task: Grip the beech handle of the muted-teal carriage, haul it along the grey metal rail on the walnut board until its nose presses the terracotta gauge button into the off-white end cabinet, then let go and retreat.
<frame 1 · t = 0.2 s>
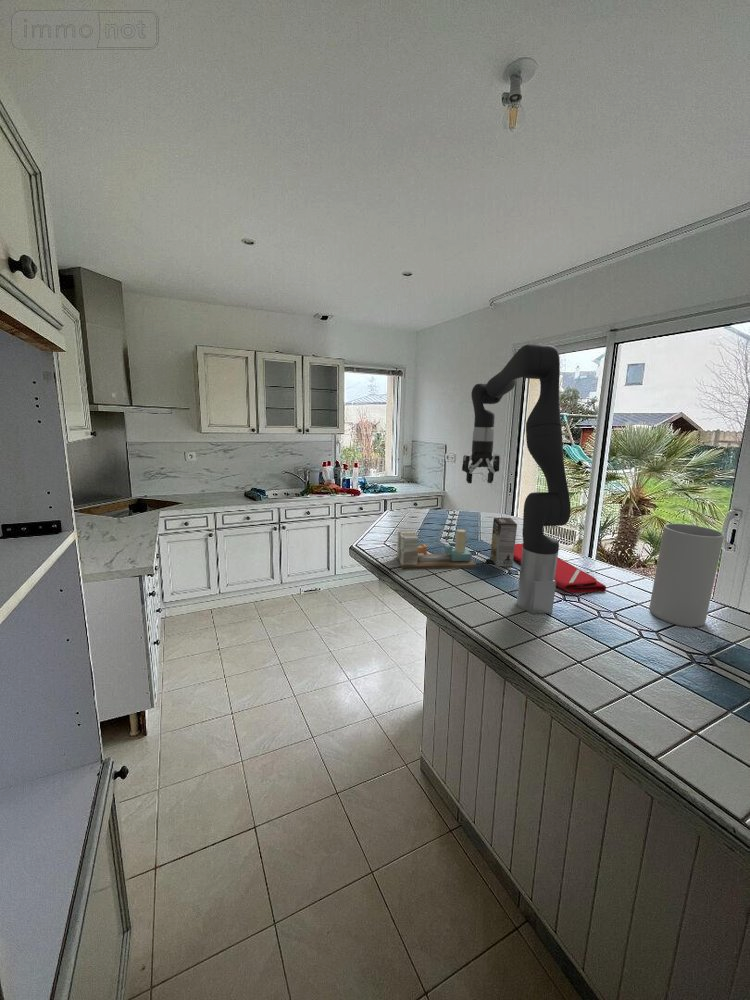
hand: (479, 483, 151), 28 cm above the countertop, fingers open, 8 cm apart
coffee box: (501, 562, 150), on the countertop
cylinder vase: (675, 617, 111), on the countertop
folded red towel: (546, 570, 145), on the countertop
carriage: (457, 544, 147), point 7 cm above the countertop, slide at 0.0 cm
gauge button: (417, 549, 146), point 5 cm above the countertop, slide at 0.0 cm
rail bench: (435, 562, 147), on the countertop
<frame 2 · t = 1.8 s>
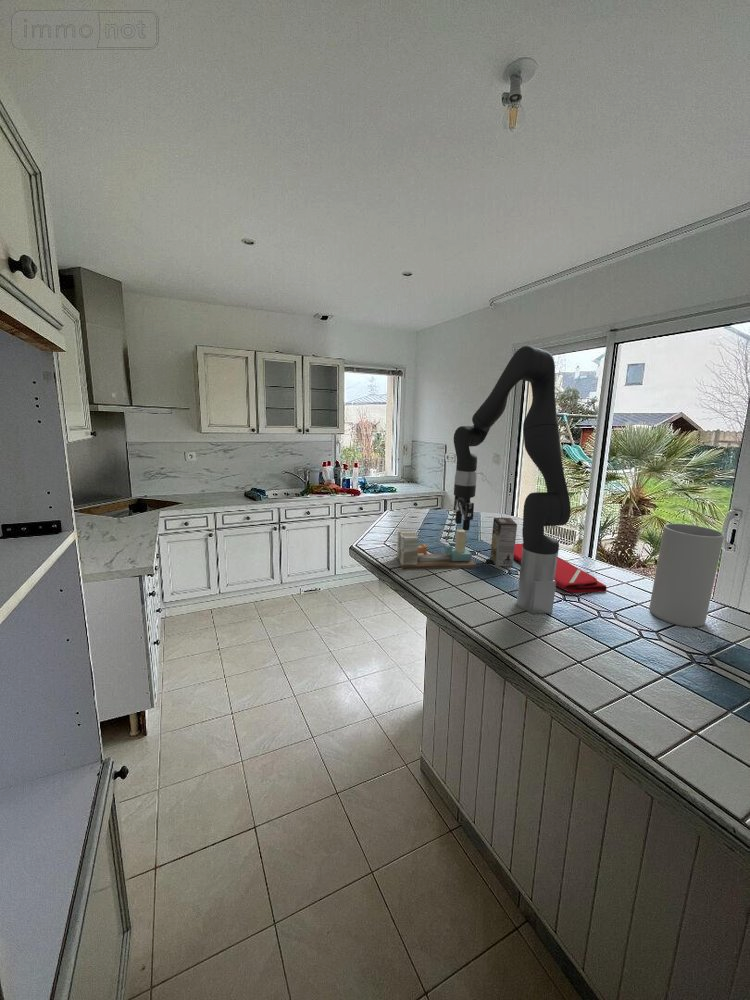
hand: (461, 526, 146), 13 cm above the countertop, fingers open, 8 cm apart
nothing on the countertop moved.
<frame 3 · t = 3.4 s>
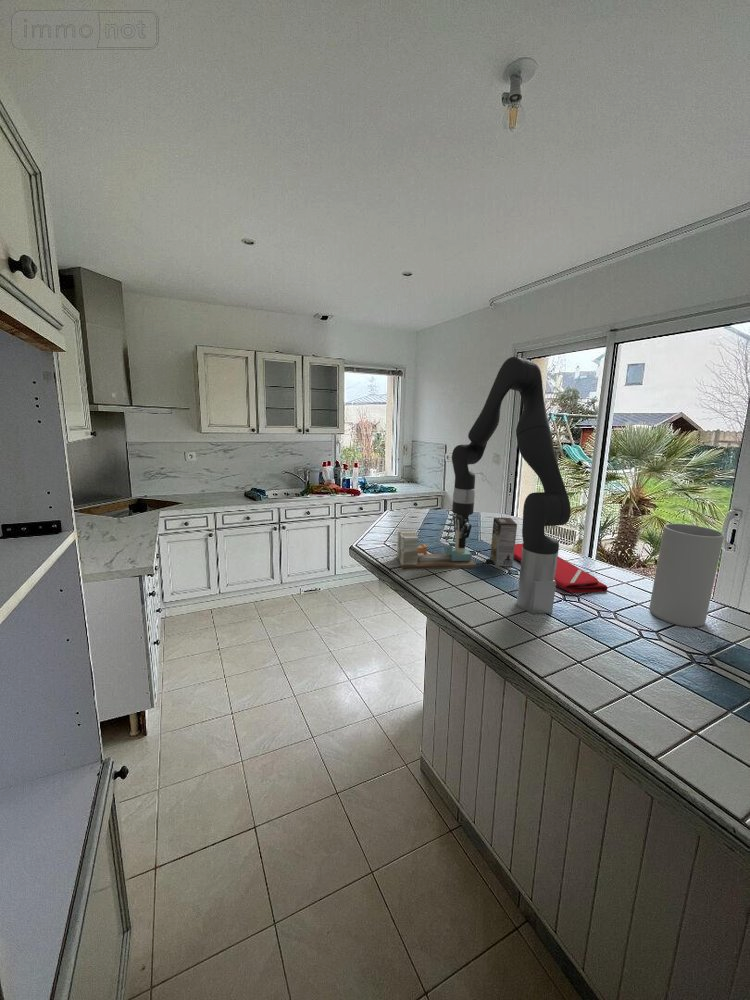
hand: (460, 546, 147), 6 cm above the countertop, fingers closed on carriage, 3 cm apart
carriage: (457, 544, 147), point 7 cm above the countertop, slide at 0.0 cm, touching gripper
everything else where it was.
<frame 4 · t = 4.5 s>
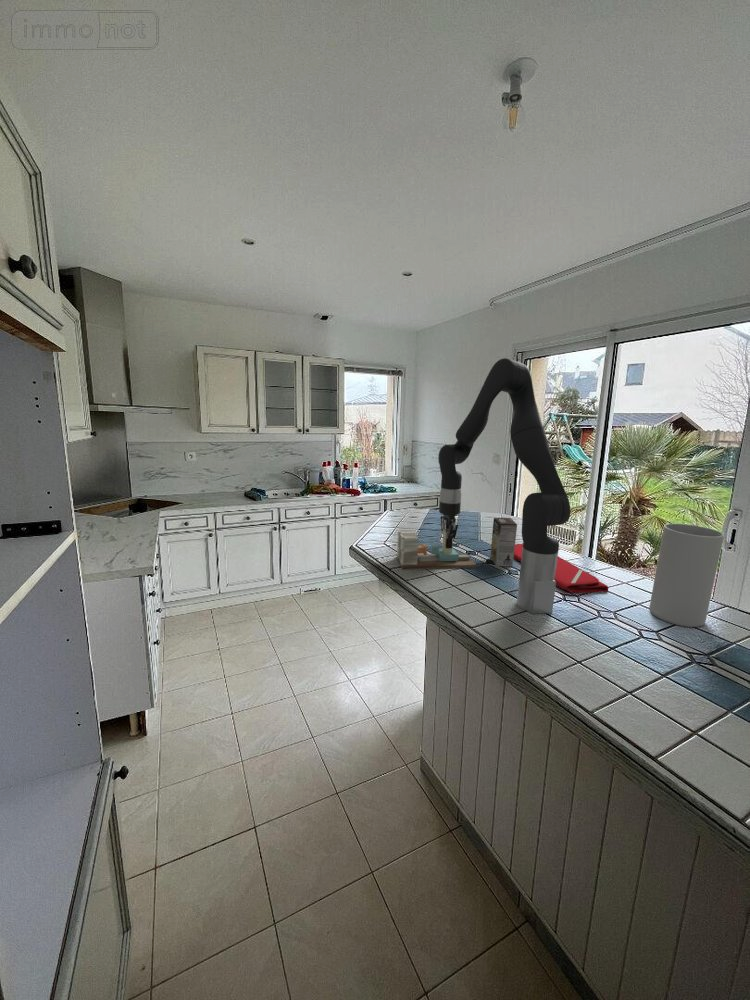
hand: (447, 546, 147), 6 cm above the countertop, fingers closed on carriage, 3 cm apart
carriage: (444, 544, 146), point 7 cm above the countertop, slide at 4.9 cm, touching gripper
everything else where it was.
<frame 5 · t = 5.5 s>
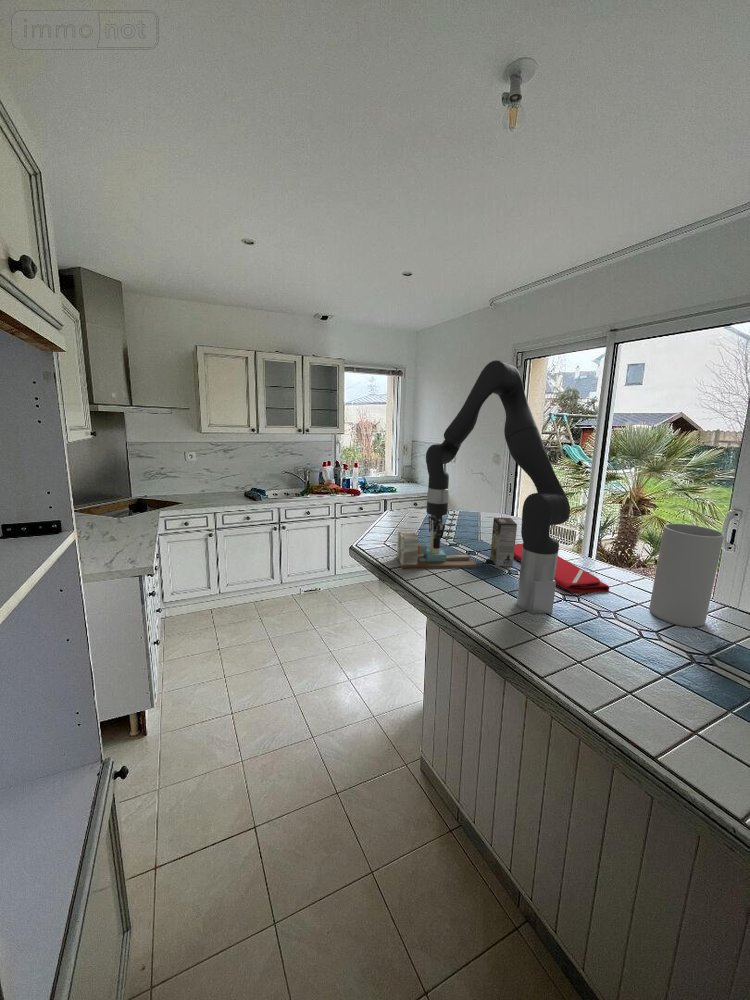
hand: (434, 546, 146), 6 cm above the countertop, fingers closed on carriage, 3 cm apart
carriage: (432, 545, 146), point 7 cm above the countertop, slide at 9.5 cm, touching gauge button, gripper
gauge button: (411, 549, 145), point 5 cm above the countertop, slide at 2.1 cm, touching carriage
everything else where it was.
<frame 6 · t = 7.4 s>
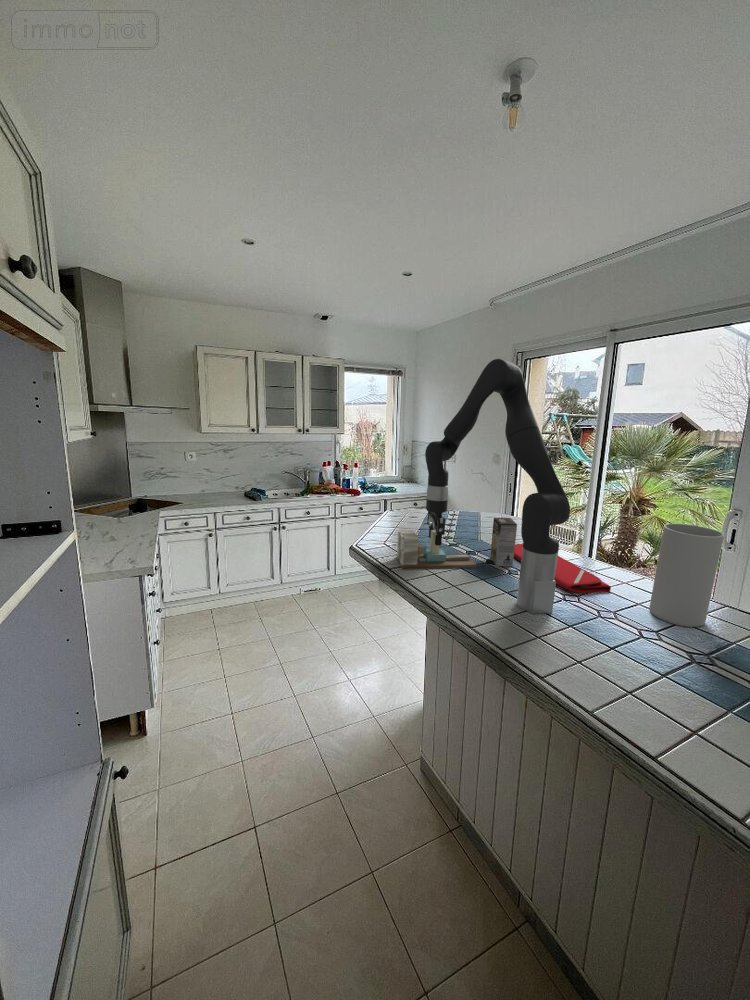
hand: (434, 541, 146), 8 cm above the countertop, fingers open, 8 cm apart
carriage: (432, 545, 146), point 7 cm above the countertop, slide at 9.6 cm, touching gauge button
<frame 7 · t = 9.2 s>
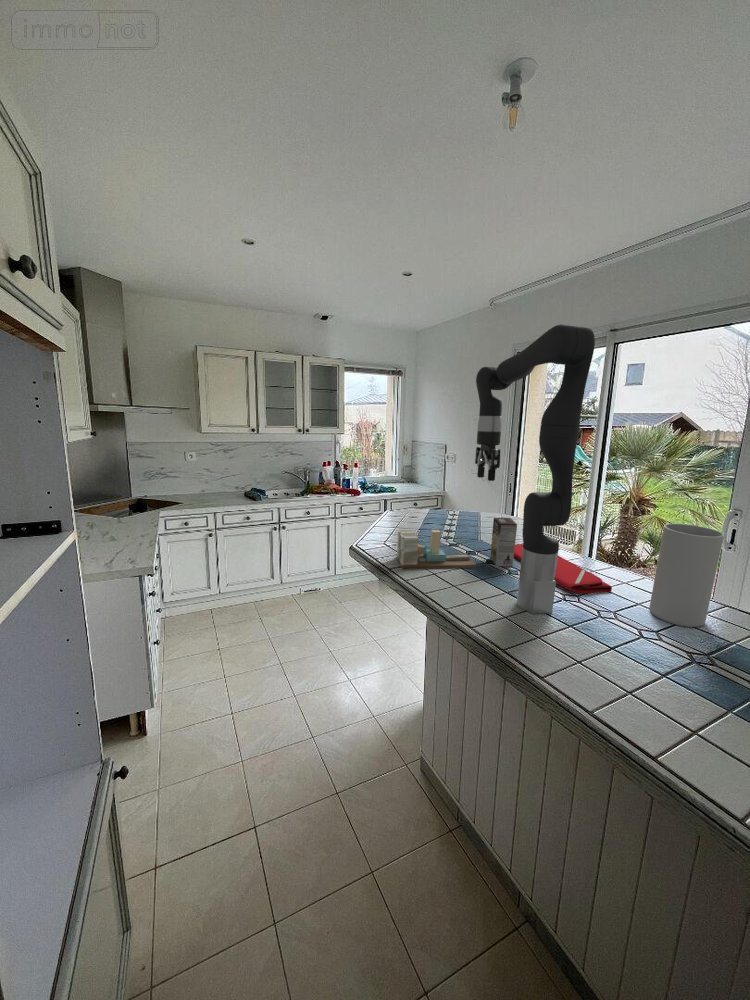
hand: (485, 478, 135), 32 cm above the countertop, fingers open, 8 cm apart
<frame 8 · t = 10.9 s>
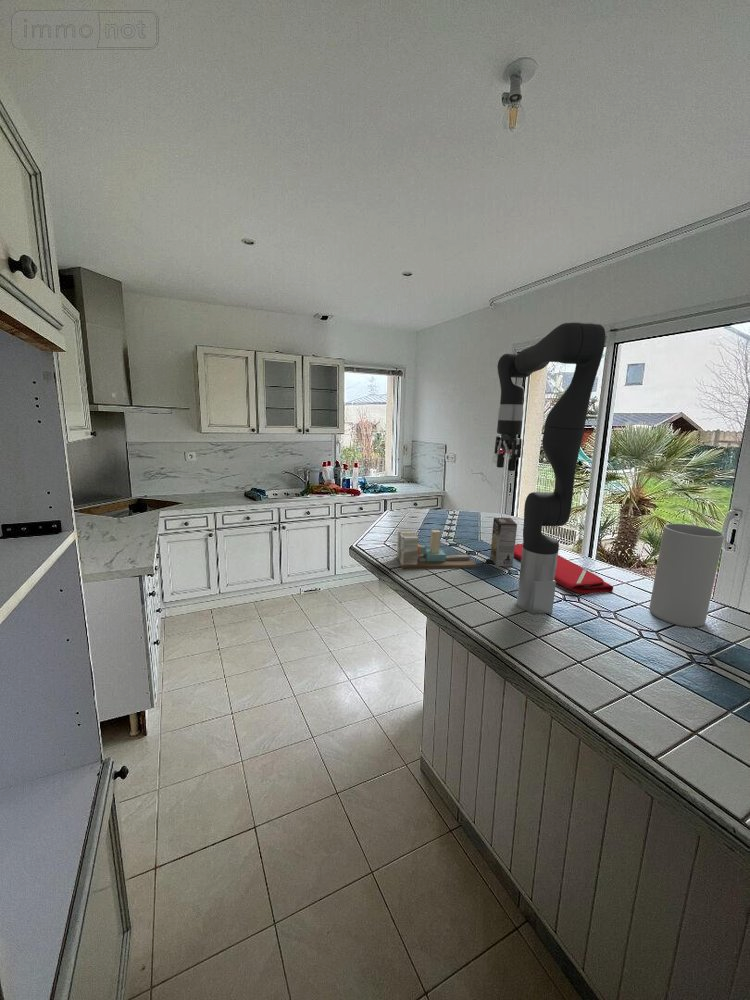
hand: (505, 469, 133), 36 cm above the countertop, fingers open, 8 cm apart
at the end: carriage slide at 9.6 cm; gauge button slide at 2.2 cm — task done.
